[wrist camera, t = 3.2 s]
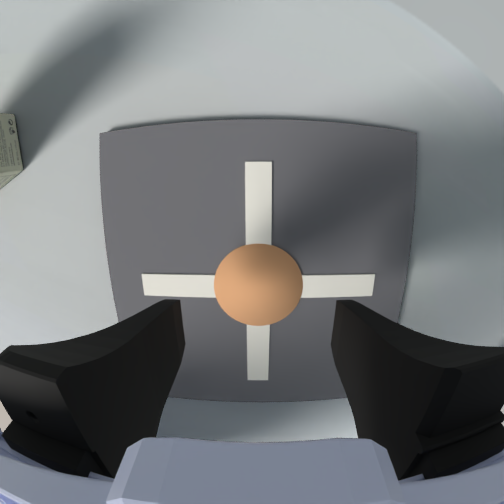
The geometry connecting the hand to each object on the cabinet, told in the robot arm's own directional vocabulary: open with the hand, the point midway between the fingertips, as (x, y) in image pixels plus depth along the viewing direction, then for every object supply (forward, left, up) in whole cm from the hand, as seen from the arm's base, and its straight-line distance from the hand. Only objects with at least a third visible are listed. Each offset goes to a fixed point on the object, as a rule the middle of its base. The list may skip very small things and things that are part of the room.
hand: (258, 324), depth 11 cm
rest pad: (0, 0, -4) cm, 4 cm away
